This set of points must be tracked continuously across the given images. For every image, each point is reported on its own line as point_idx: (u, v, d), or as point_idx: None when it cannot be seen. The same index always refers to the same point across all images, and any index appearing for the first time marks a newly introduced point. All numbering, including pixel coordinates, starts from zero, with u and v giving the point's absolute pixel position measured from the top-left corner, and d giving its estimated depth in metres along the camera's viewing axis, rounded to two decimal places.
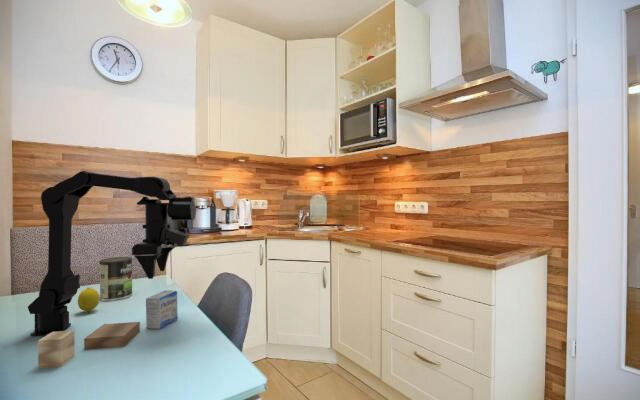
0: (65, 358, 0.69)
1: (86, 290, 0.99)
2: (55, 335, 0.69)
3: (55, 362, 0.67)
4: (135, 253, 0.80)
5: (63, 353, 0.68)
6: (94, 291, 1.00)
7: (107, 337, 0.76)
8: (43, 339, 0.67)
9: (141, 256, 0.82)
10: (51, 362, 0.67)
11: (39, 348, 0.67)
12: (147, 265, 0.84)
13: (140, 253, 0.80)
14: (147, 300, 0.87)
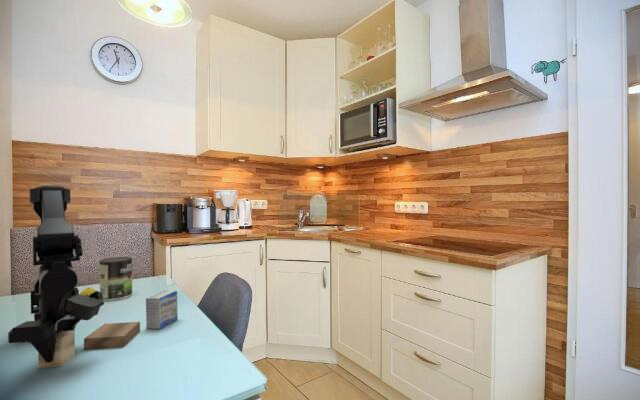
0: (65, 358, 0.69)
1: (86, 290, 0.99)
2: None
3: (55, 362, 0.67)
4: (12, 341, 0.60)
5: (63, 352, 0.68)
6: (94, 291, 1.00)
7: (107, 337, 0.76)
8: None
9: None
10: (51, 362, 0.67)
11: None
12: (42, 346, 0.66)
13: (19, 340, 0.60)
14: (147, 300, 0.87)
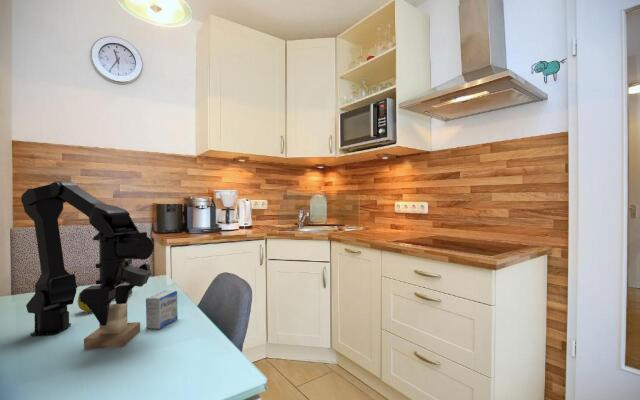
0: (121, 326, 0.80)
1: None
2: (112, 306, 0.80)
3: (113, 329, 0.78)
4: (83, 300, 0.71)
5: (119, 321, 0.79)
6: None
7: (106, 338, 0.76)
8: None
9: (90, 302, 0.72)
10: (110, 329, 0.78)
11: None
12: (98, 311, 0.75)
13: (88, 300, 0.71)
14: (147, 300, 0.87)
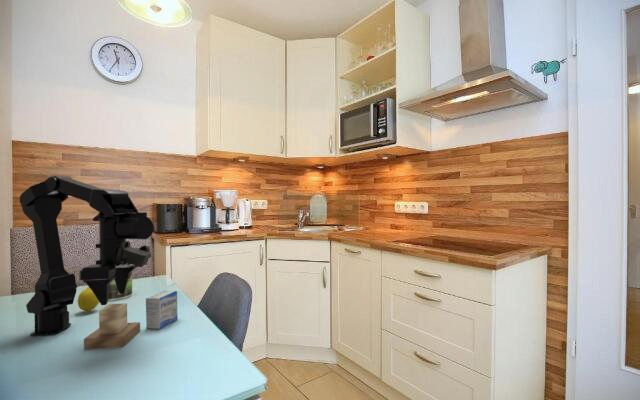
0: (121, 326, 0.80)
1: (86, 290, 0.99)
2: (111, 306, 0.80)
3: (113, 329, 0.78)
4: (83, 278, 0.71)
5: (119, 321, 0.79)
6: None
7: (107, 337, 0.76)
8: (103, 309, 0.78)
9: (91, 281, 0.72)
10: (110, 329, 0.78)
11: (100, 317, 0.78)
12: (98, 290, 0.75)
13: (88, 278, 0.71)
14: (147, 300, 0.87)
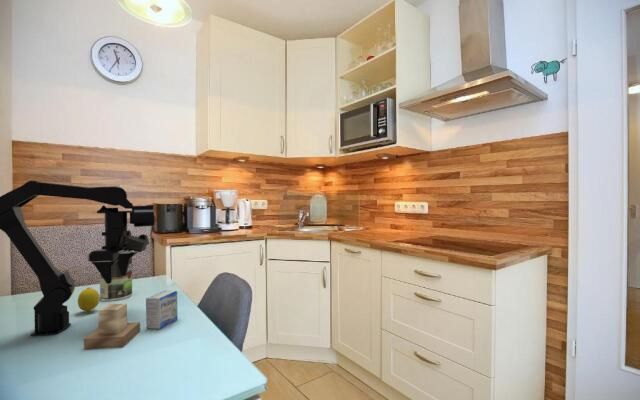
0: (120, 327, 0.80)
1: (86, 290, 0.99)
2: (111, 306, 0.80)
3: (112, 329, 0.78)
4: (91, 260, 0.85)
5: (118, 321, 0.79)
6: (94, 291, 1.00)
7: (106, 337, 0.76)
8: (102, 309, 0.78)
9: (98, 262, 0.86)
10: (109, 329, 0.78)
11: (99, 317, 0.78)
12: (104, 271, 0.88)
13: (96, 259, 0.85)
14: (147, 300, 0.87)
